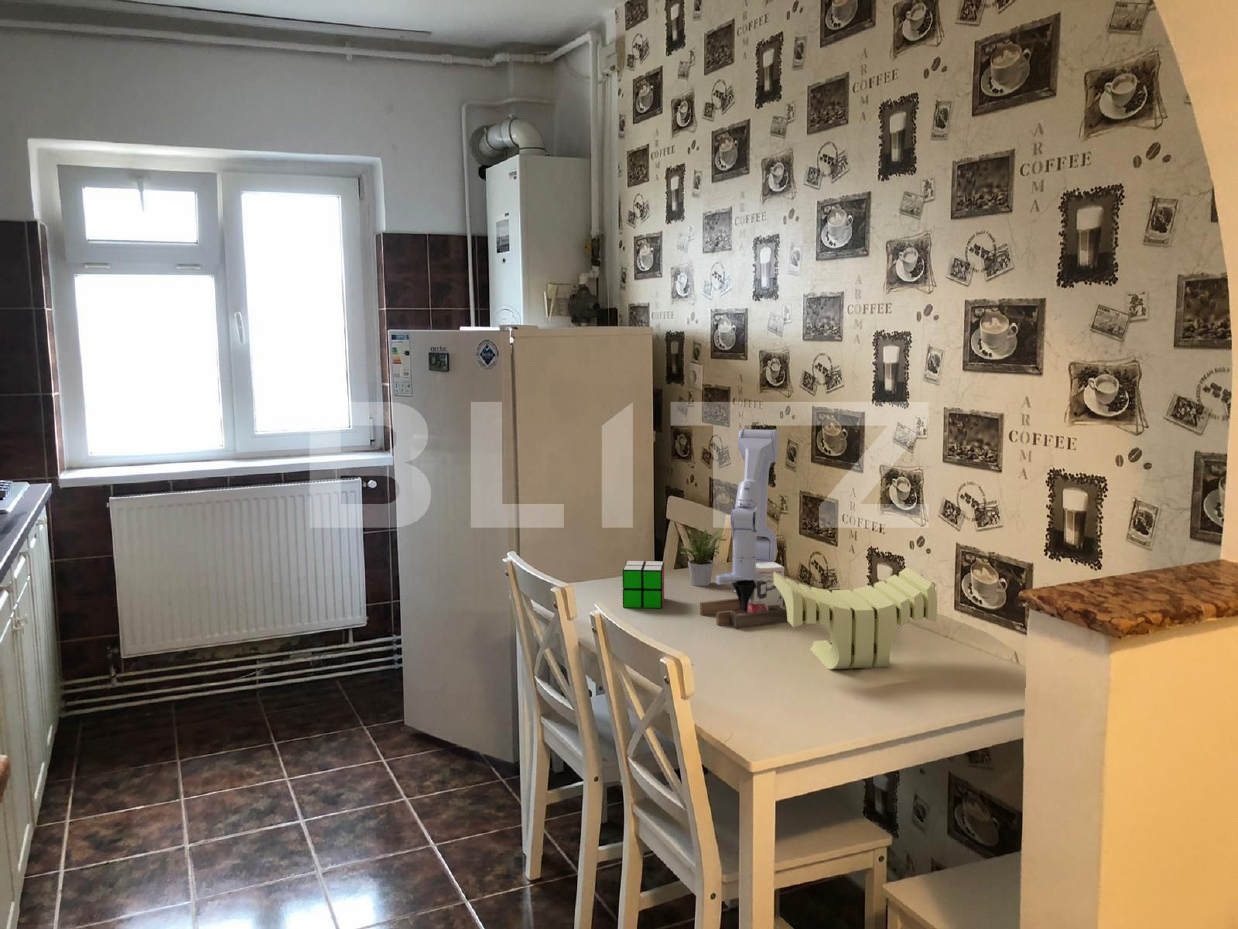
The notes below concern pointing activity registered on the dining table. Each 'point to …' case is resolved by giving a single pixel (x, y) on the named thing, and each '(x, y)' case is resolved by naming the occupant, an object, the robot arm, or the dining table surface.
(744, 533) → the robot arm
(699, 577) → the house plant
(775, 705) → the dining table surface
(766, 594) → the ink box
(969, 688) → the dining table surface
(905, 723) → the dining table surface
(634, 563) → the puzzle cube
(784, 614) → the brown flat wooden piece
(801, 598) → the slatted curved stool
